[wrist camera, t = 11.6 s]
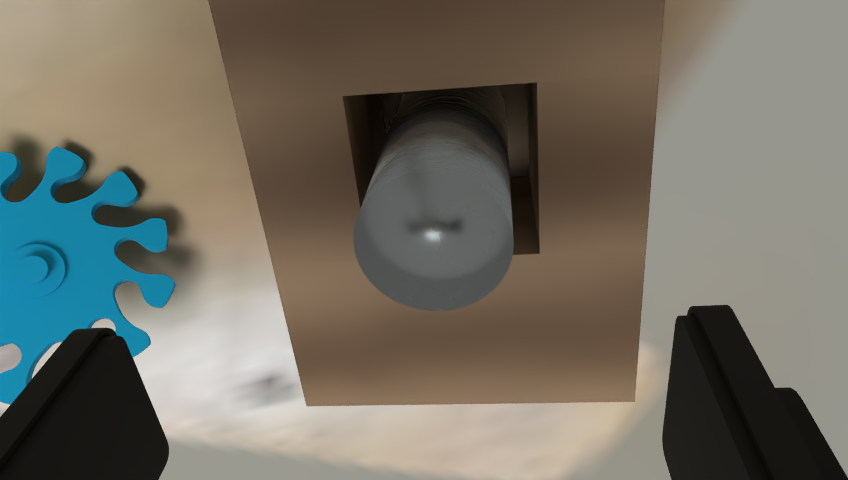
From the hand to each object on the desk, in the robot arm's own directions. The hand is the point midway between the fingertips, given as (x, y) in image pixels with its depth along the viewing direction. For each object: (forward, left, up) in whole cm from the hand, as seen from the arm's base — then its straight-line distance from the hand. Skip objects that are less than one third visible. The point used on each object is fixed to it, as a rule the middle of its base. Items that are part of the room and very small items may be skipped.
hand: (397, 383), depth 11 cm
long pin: (+1, 0, -16) cm, 16 cm away
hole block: (+1, 0, -16) cm, 16 cm away
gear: (+4, -17, -16) cm, 23 cm away
